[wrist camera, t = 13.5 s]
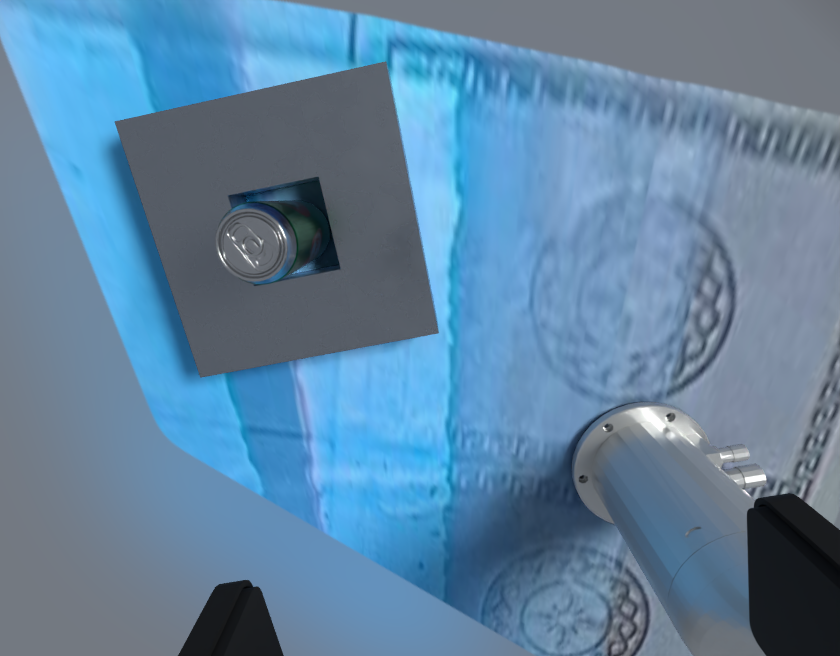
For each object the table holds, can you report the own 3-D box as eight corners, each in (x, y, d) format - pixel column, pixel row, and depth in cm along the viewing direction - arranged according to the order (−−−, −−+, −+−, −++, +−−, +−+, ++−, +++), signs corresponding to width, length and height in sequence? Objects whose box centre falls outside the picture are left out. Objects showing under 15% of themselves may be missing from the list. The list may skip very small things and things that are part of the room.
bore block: (389, 73, 37) (386, 61, 34) (437, 322, 42) (438, 333, 39) (142, 128, 38) (114, 121, 35) (217, 363, 43) (200, 377, 40)
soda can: (302, 274, 41) (255, 304, 30) (257, 230, 40) (190, 244, 29) (343, 232, 40) (311, 247, 29) (299, 186, 39) (246, 182, 28)
